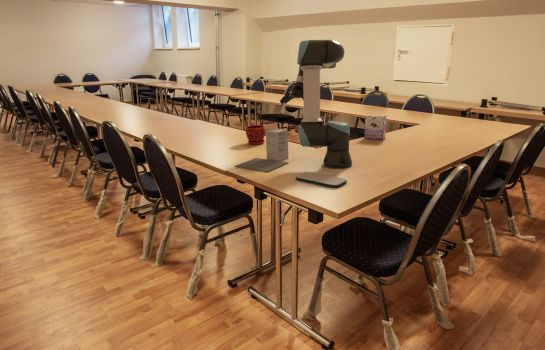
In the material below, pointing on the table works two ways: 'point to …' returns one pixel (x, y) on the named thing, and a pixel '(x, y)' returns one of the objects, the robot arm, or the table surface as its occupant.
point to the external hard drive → (321, 180)
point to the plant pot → (255, 134)
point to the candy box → (375, 127)
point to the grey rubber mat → (261, 164)
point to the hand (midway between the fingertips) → (292, 113)
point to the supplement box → (277, 144)
